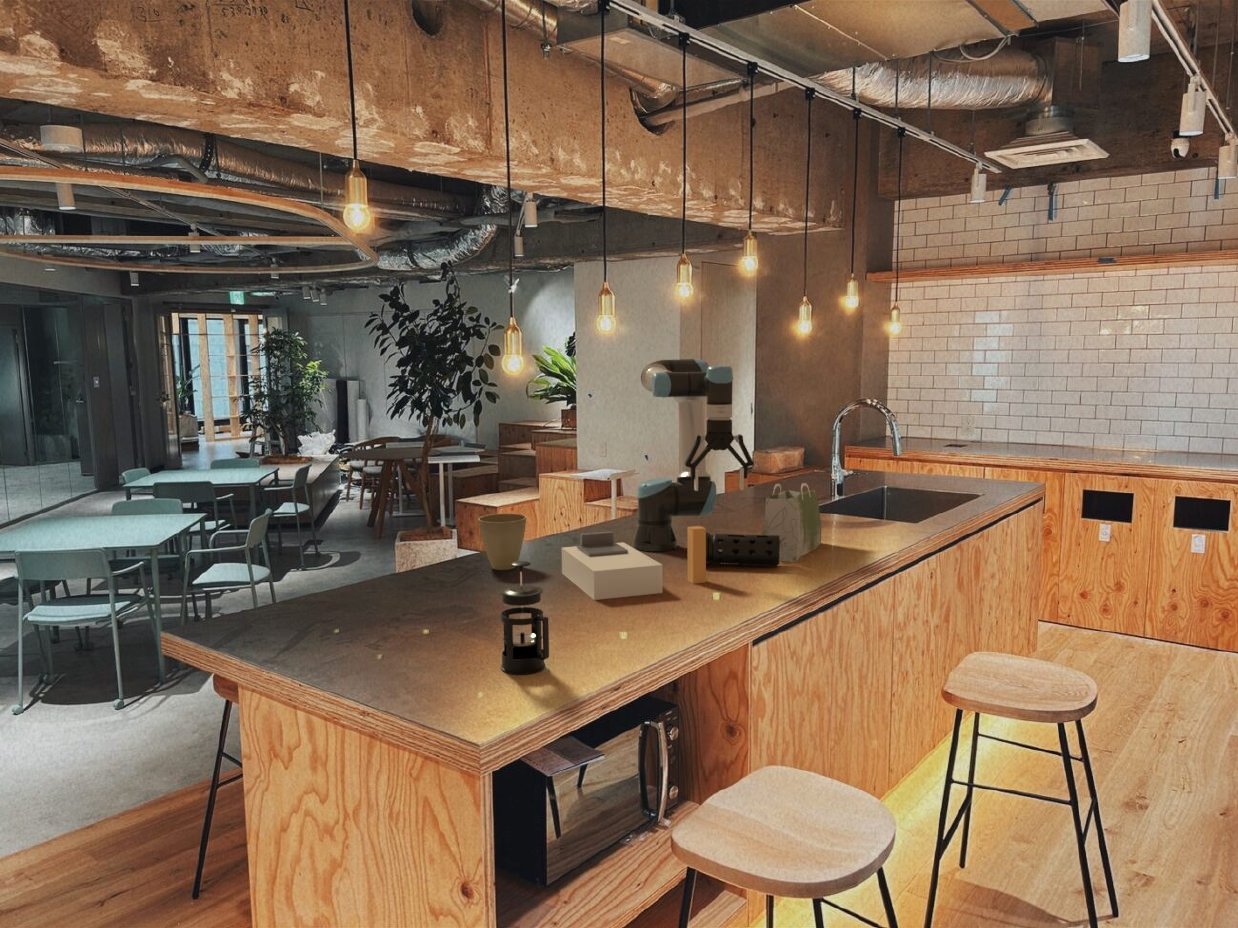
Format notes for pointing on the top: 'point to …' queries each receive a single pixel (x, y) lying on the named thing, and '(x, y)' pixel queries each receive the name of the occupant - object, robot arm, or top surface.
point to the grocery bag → (793, 522)
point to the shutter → (599, 544)
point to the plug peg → (697, 554)
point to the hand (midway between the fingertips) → (718, 489)
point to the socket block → (612, 573)
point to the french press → (522, 647)
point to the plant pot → (502, 538)
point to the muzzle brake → (743, 549)
